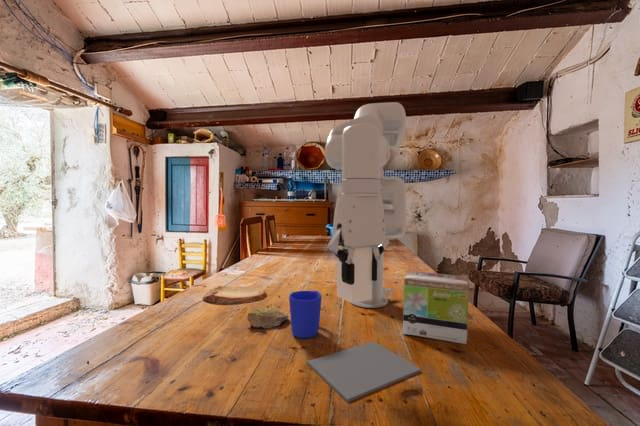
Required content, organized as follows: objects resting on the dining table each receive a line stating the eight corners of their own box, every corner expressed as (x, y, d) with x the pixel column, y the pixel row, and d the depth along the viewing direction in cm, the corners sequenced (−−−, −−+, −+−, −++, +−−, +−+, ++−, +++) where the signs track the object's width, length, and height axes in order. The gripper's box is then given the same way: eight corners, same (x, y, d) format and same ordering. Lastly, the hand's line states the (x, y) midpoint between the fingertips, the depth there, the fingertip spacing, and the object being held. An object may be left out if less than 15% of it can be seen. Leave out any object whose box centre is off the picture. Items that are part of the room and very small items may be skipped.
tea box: (402, 335, 75) (403, 277, 75) (405, 321, 85) (405, 269, 84) (468, 345, 70) (469, 283, 70) (463, 329, 80) (464, 274, 79)
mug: (329, 324, 82) (330, 288, 82) (314, 343, 71) (315, 301, 70) (302, 320, 85) (302, 285, 84) (283, 338, 73) (283, 298, 73)
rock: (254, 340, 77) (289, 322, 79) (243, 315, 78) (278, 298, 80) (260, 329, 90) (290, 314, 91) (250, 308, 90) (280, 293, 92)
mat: (373, 343, 71) (373, 341, 71) (420, 372, 59) (420, 369, 59) (306, 364, 61) (306, 361, 61) (347, 402, 49) (347, 399, 49)
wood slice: (271, 296, 108) (271, 286, 108) (231, 310, 93) (230, 298, 93) (238, 288, 118) (238, 279, 118) (197, 300, 103) (197, 289, 103)
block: (356, 292, 64) (356, 235, 64) (371, 299, 60) (372, 237, 60) (336, 296, 62) (337, 236, 61) (351, 303, 57) (352, 238, 57)
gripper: (379, 191, 66) (378, 272, 67) (313, 188, 57) (312, 282, 58) (405, 190, 60) (404, 280, 60) (335, 186, 51) (334, 292, 52)
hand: (359, 280), depth 59 cm, fingers closed on block, 5 cm apart
